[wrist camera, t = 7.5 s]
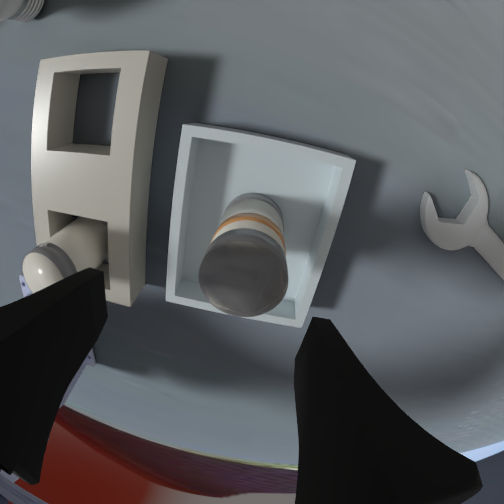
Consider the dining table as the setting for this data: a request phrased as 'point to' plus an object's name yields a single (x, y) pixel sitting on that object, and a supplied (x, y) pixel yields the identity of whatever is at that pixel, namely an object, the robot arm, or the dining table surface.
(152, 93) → the fuse block
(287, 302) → the parts tray
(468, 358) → the dining table surface
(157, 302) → the dining table surface
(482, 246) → the wrench
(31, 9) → the lightbulb
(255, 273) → the fuse
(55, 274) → the cylinder
